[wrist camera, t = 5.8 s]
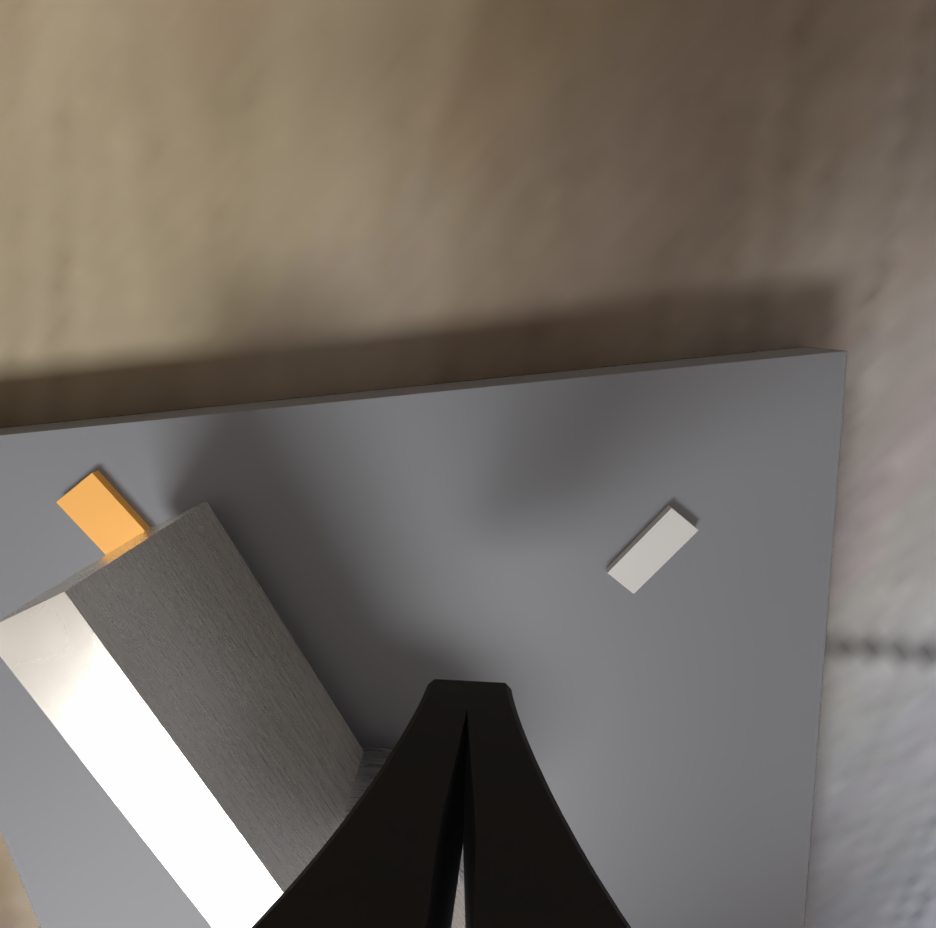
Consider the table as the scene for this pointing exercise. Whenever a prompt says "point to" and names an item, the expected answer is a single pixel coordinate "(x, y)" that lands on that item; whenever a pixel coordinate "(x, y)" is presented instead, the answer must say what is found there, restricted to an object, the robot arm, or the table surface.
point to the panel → (487, 604)
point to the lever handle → (195, 713)
